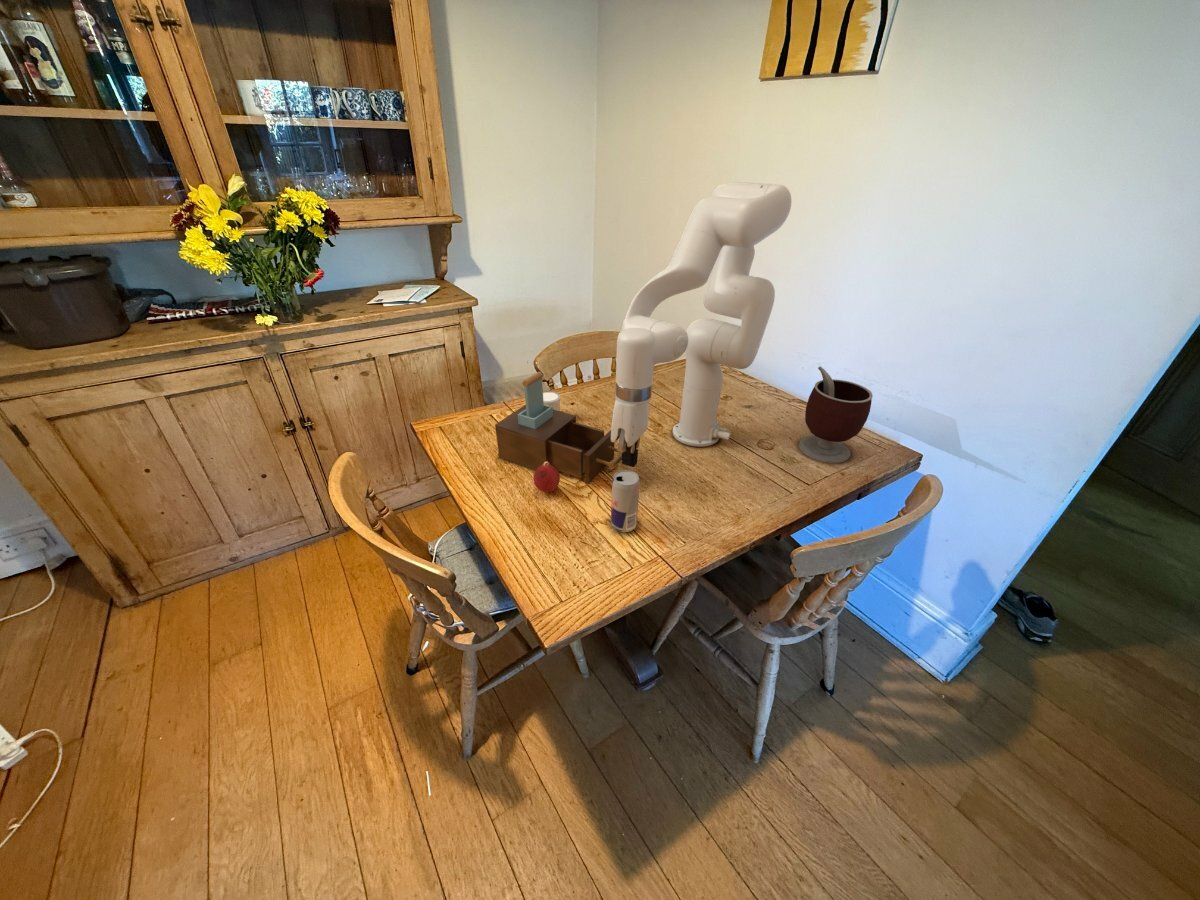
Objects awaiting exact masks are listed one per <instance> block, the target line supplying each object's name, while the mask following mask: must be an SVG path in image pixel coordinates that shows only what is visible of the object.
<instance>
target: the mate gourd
mask: <svg viewBox="0 0 1200 900" xmlns="http://www.w3.org/2000/svg"><path fill="white" fill-rule="evenodd" d="M817 369H818V370H819V371H820V373H821V377H822V380H819V381H817V382H815V384H814V386H813V388H812V390H811V391H810V394H809V396H808V399H807V403H806V407H805V413H804V417H805V418H804V420H805V425H806V427H807V428H808V430H809V432H810V433H811V434H812V435H807V436H805V437H802V438H801V439H800V440H799V443H798V448H799V450H800V451H801V453H802V454H803V455H805V456H807V457H809V458H810V459H812V460H815V461H818V462H822V463H827V464H840V463H844V462H846V461H848V460H849V458H850V456H851V451H850V449H849V448H848V446H847V445H846V444H844V443H842V442H847V441H849V440H851V439H852V438H854V437H856V436H857V435H859V434H860V432H861V431H862V429H864V426H865V424H866V422H867V420H868V418H869V415H870V412H871V407H872V402H873V401H872V400H873V393H872V391H871V390H870V389H868V388H867V387H865V386H863V385H861V384H859V383H855V382H853V381H848V380H843V379H836V378H835V379H833V378H832V376H831V374H829V373H828V372H827V371H826V370H825V368H823V367H822V366H820V365H819V366H818V367H817Z"/></svg>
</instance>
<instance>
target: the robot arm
mask: <svg viewBox="0 0 1200 900" xmlns="http://www.w3.org/2000/svg"><path fill="white" fill-rule="evenodd" d="M791 208H792V195H791V192H790V190H789V189H788V187H786V186H785V185H783V184H777V183H760V182H759V183H757V182H740V181H736V182H735V181H733V182H725V183H721V184H719V185H718V186H716V187H715V188H714V189H713V191H712V193H711V196H710V197H705V198H703V199H701V200H699V201H698V202H697V203H696V204H695V206H694V207H693V209H692V212H691V213H690V215H689V218H688V220H687V222H686V225H685V226H684V230H683V232H682V234H681V236H680V239H679V241H678V243H677V246H676V248H675V250H674V252H673V255H672V256H671V259H670V261H669V264H668V265H667V266H666V267H665V268H664V269H663V270H661V271H660V272H659V273H657V274H656V275H654V276H653V277H651V278H650V279H649V280H648V281H647V282H646V283H645V284H644V285H643V286H642V287H641V288H640V289H639V290H638V291H637V292H636V293H635V295H634V297H633V298H632V301H631V302H630V305H629V307H628V310H627V312H626V314H625V317H624V319H623V320H622V321H623V322H622V325H621V328H620V332H619V333H618V335H617V338H616V361H615V362H616V363H615V391H614V397H615V401H614V406H613V409H612V418H611V426H610V427H611V428H610V430H611V442H614V443H616V442H617V441H618V443H617V449H618V450H617V451H619V452H622V460H621V464H622V465H624V466H627V467H630V468H635V467H636V465H637V464H638V460H639V459H638V457H639V447H640V443H641V437H642V436H643V435H644V434H645V432H646V431H647V430H648V427H649V423H650V401H651V400H652V395H653V383H654V382H653V381H654V370H655V365H657V364H665V363H669V362H674V361H676V360H677V359H679V358H681V357H682V356H683V355H684V353H685V370H684V378H683V379H684V380H683V386H682V387H683V390H682V397H681V398H682V399H681V403H680V404H681V405H680V412H679V413H680V415H679V422H678V423H676V424H675V425H674V426H673V427H672V437H674V439H675V440H677V441H678V442H679V443H681V444H684V445H686V446H691V447H695V448H696V447H699V448H703V447H709V446H712V445H714V444H716V443H717V442H718V441H719V440H720V439H721V440H726V441H730V439H731V432H729V428H726V427H721V426H720V425H719V423H720V420H718V419H717V417H718V411H719V406H720V400H721V392H722V387H723V381H724V372H723V368H722V366H721V365H723V366H724V367H725V366H726V367H729V368H732V369H737V370H745V369H747V368H749V367H750V366H751V365H752V364H753V362H754V361H755V359H756V357H757V355H758V352H759V350H760V346H761V343H762V340H763V338H764V336H765V332H766V329H767V326H768V323H769V321H770V317H771V314H772V311H773V307H774V304H775V297H776V291H775V286H774V284H773V283H772V282H771V281H770V280H769V279H766V278H764V277H759V276H754V275H750V272H751V268H752V265H753V262H754V260H755V259H754V258H755V253H756V251H755V246H756V245H758V244H760V243H761V242H762V241H764V240H765V239H766V238H768V237H769V236H771V235H773V234H774V233H776V232H777V231H779V229H780V228H781V227H782V226H783V225H784V224H785V222H786V221H787V219H788V217H789V215H790V212H791ZM705 284H706V287H705V291H704V295H703V305H704V308H705V310H707V311H709V312H711V313H713V314H716V315H720V316H724V317H729V318H733V319H737V320H741V324H740V325H738V324H734V323H731V322H727V321H724V320H723V321H722V320H718V319H713V318H709V317H708V318H706V317H705V318H703V317H702V318H698V319H695V320H693V321H692V322H691V323H690V324H689V325H688V327H687V328H686V330H685V328H684V327H682V326H680V325H679V324H675V323H672V322H668V321H665V320H661V319H657V318H653V317H651V315H652V314H653V313H654V311H655V309H656V308H657V307H658V306H659V305H660V304H661V303H662V302H664V301H665V300H668V299H669V298H671V297H673V296H676V295H679V294H682V293H686V292H690V291H692V290H696V289H699V288H702V287H703V286H705ZM619 452H618V453H619Z"/></svg>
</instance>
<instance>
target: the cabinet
mask: <svg viewBox="0 0 1200 900" xmlns="http://www.w3.org/2000/svg"><path fill="white" fill-rule="evenodd" d="M525 409H526V404H524V405H522V406H521V407H519V408H518V409H516V410H514V411H513V412H512V413H510V414H509V415H507V416H506V417H504V418H503V419H501V420H500V421H498V422H497V423H495V424H494V427H495V436H496V443H497V450H498V451H497V452H498V457H499V459H502V460H504V461H507V462H510V463H513V464H516V465H518V466H522V467H525V468H528V469H529V470H533V471H536V470H537V468H538V467H540V466H541V465H543V464H544V462H547V461H548V446H547V441H549V440H550V439H551V438H552V437H554V436H555V435H556V434H557V433H559V432H560V431H561V430H562V429H564V428H565V427H566V426H567V425H569V424H570V423H571V422H572V421H573V422H576V423H577V415H575V414H572V413H569V412H564V411H561V410H559V411H558V410H554V409H553V417H551V418H550V419H548V420H547V421H546V422H544V423H543V424H542V425H540V426H539V427H538V428H536V429H533V428H530V427H527V426H523V425H520V424H518V414H519V413H521V412H522V411H524V410H525Z"/></svg>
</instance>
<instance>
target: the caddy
mask: <svg viewBox="0 0 1200 900" xmlns="http://www.w3.org/2000/svg"><path fill="white" fill-rule="evenodd" d="M543 378H544V373H543V372H542V371H537V372H536V373H534V374H532V375H531V376H529V377H527V378H525V379H524V380H523V381H522V383H521V384H522V386H523V390H524V400H525V401H524V402H525V405H526V409H525V410H524V411H522V412H521V413H519V414H518V424H520V425H523V426H527V427H530V428H533V429H536V428H538V427H539V426H540V425H542V424H543V423H544V422H546V421H547V420H548V419H550V418H551V417H553V407H551V406H548V405H544V402H543V392H544V390H543Z"/></svg>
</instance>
